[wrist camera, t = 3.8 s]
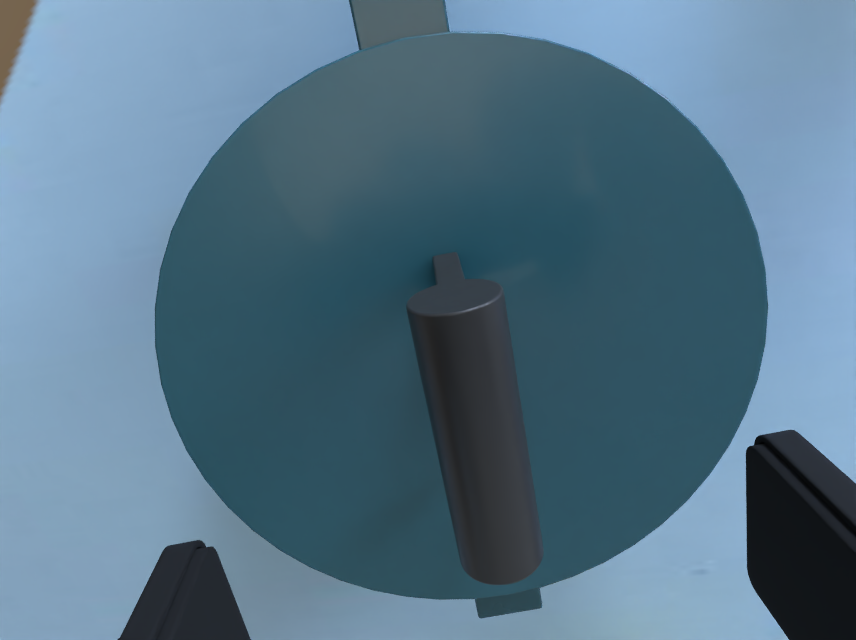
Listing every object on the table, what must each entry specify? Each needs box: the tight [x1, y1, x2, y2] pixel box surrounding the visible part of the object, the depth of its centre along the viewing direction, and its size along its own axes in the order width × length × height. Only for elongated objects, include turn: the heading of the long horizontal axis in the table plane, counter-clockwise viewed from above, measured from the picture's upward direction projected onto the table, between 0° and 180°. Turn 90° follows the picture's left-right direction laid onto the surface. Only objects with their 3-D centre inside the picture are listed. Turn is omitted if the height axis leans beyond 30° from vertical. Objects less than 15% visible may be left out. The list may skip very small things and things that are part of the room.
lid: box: [155, 32, 768, 599], centre depth 17 cm, size 18×18×6 cm
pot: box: [349, 0, 542, 618], centre depth 23 cm, size 17×22×8 cm
